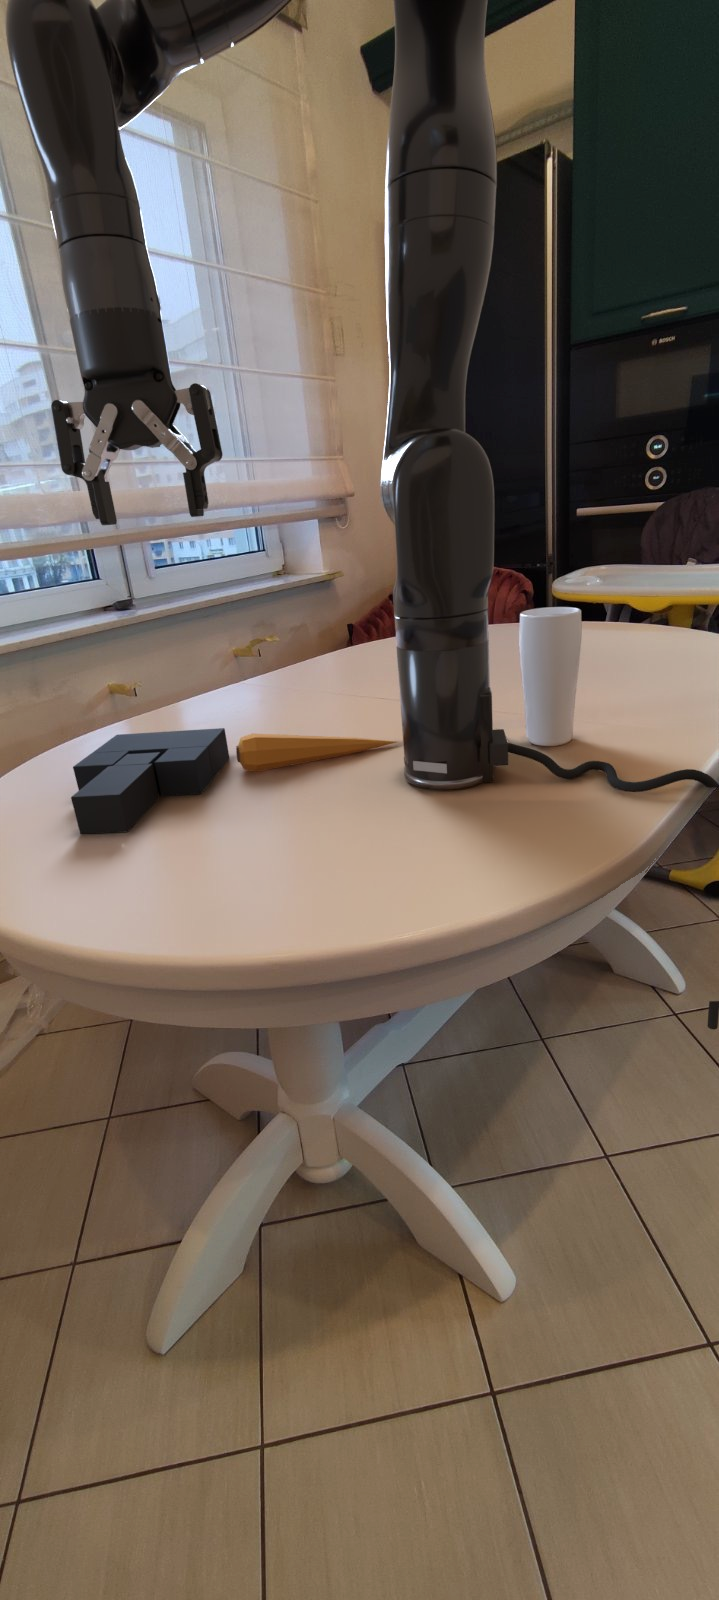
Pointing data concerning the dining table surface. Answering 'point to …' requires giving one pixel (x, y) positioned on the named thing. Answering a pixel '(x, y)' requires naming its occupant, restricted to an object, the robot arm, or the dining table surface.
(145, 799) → the black rectangular block
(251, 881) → the dining table surface
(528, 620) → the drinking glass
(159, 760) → the dark grey u-shaped block
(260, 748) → the carrot
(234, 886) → the dining table surface
